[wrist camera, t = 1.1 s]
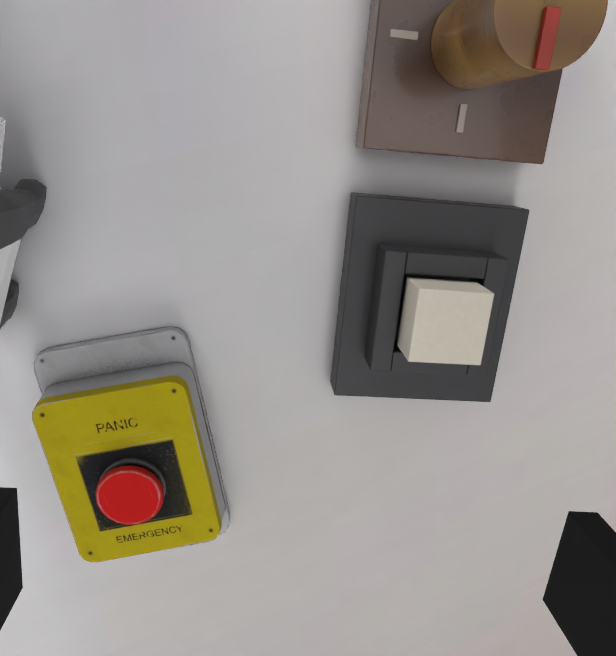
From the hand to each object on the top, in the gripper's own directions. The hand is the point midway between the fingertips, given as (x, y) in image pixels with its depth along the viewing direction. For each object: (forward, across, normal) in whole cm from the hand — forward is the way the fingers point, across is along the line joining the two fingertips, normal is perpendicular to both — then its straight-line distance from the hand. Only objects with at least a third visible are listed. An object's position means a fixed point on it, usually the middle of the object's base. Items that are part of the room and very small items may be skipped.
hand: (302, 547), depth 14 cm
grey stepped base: (+22, +9, +1) cm, 24 cm away
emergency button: (+22, -8, -10) cm, 26 cm away
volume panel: (+22, +9, +15) cm, 28 cm away
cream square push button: (+19, +9, +1) cm, 21 cm away
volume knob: (+20, +9, +15) cm, 26 cm away
